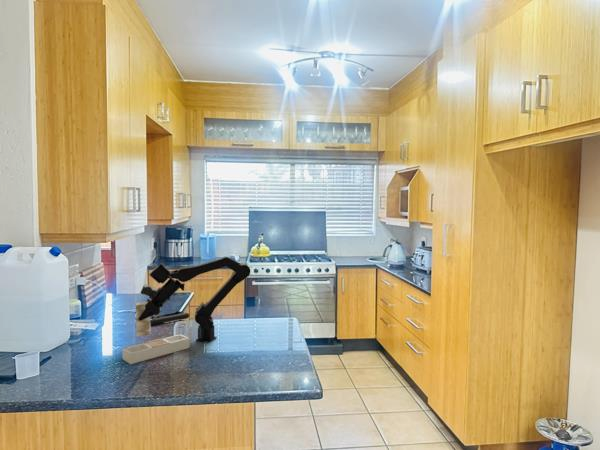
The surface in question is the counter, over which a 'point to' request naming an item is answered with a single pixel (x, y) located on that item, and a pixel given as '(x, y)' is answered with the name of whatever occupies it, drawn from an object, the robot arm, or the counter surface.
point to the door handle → (169, 318)
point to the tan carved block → (142, 321)
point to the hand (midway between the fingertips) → (139, 318)
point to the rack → (155, 348)
